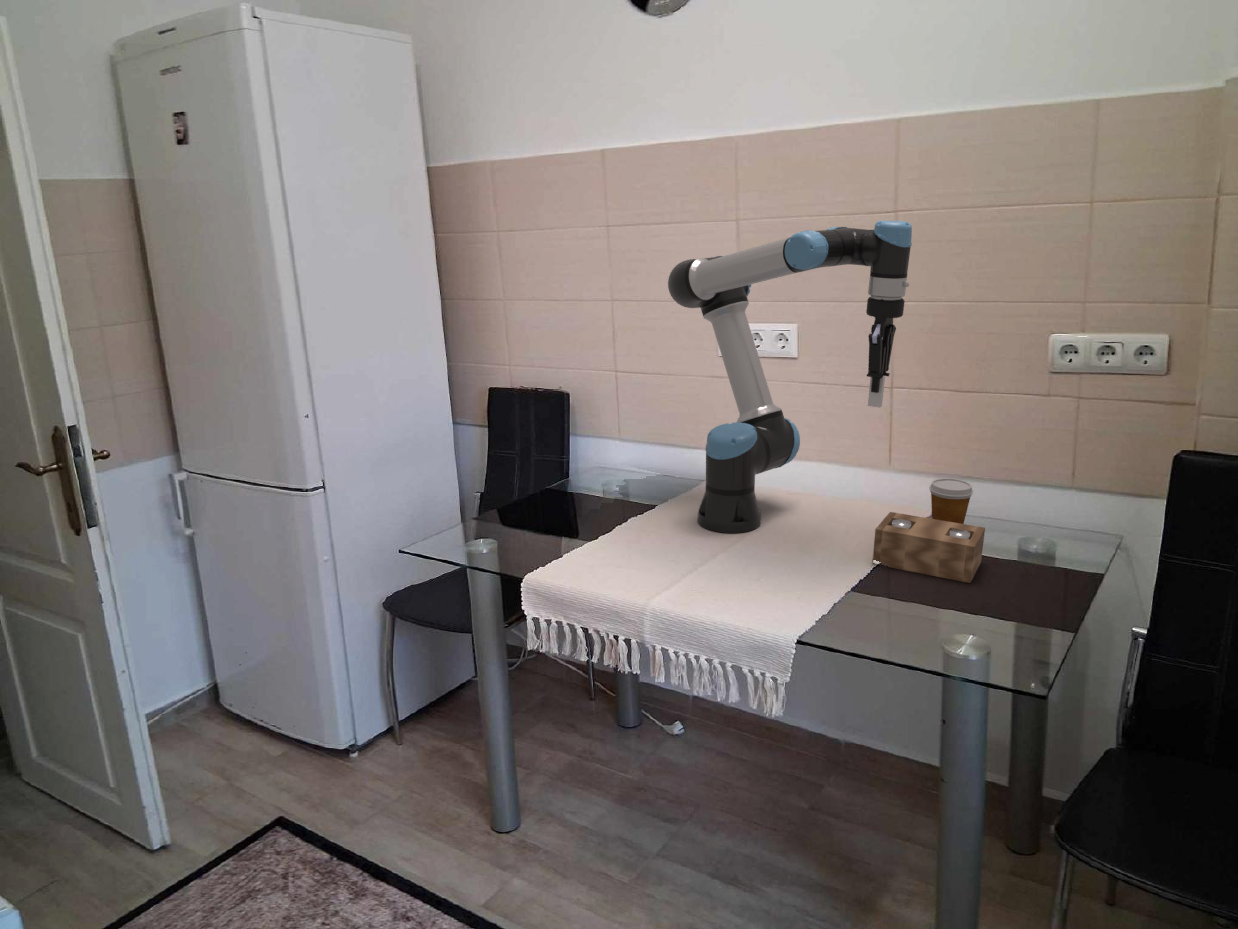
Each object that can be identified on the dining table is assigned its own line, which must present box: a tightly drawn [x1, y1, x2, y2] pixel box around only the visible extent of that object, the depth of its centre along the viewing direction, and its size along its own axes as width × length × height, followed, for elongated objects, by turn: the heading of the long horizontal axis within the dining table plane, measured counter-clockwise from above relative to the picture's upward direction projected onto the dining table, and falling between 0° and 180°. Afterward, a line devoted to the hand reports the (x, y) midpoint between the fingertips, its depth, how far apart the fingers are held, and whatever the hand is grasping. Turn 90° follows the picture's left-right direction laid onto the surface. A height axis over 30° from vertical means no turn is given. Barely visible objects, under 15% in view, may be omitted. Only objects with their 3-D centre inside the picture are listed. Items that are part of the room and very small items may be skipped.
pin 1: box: [892, 519, 911, 529], centre depth 197 cm, size 4×4×7 cm
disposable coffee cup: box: [928, 477, 974, 524], centre depth 210 cm, size 10×10×12 cm
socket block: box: [872, 511, 986, 584], centre depth 194 cm, size 20×12×8 cm, turn 59°
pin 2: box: [949, 529, 970, 539], centre depth 191 cm, size 4×4×7 cm
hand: (874, 405), depth 198 cm, fingers closed
